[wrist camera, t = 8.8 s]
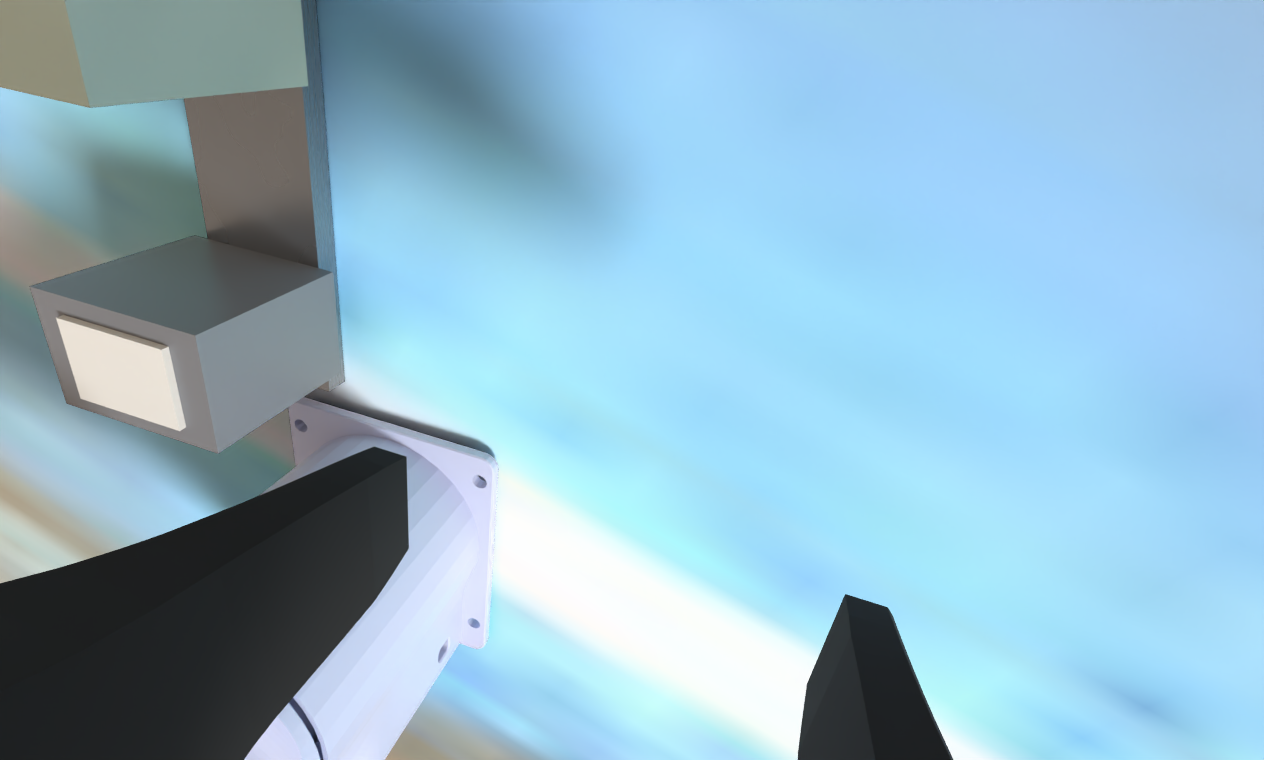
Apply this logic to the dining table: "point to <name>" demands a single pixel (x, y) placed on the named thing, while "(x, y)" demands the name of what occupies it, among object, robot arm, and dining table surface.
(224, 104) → the steel rail
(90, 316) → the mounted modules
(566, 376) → the dining table surface
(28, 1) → the block
